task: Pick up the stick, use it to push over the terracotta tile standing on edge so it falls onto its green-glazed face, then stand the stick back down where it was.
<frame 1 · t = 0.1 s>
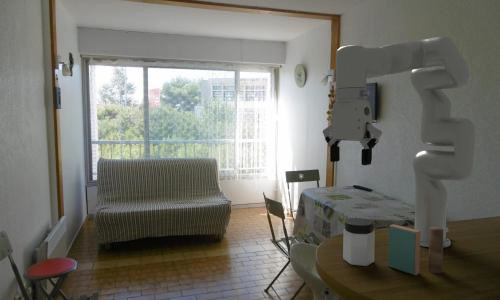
hand: (349, 163, 93), 31 cm above the table, tool pointing down, fingers open, 9 cm apart
stick: (435, 270, 100), on the table
tile: (403, 269, 101), on the table
jar: (358, 261, 108), on the table
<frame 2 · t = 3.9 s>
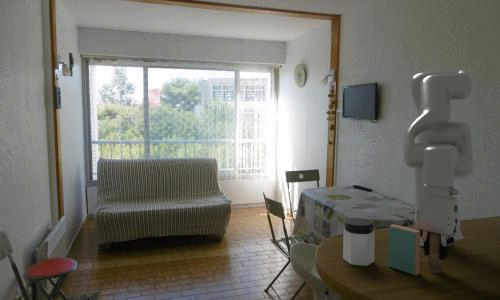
hand: (435, 255, 100), 4 cm above the table, tool pointing down, fingers closed on stick, 3 cm apart
stick: (435, 270, 100), on the table, touching gripper
everything else where it was.
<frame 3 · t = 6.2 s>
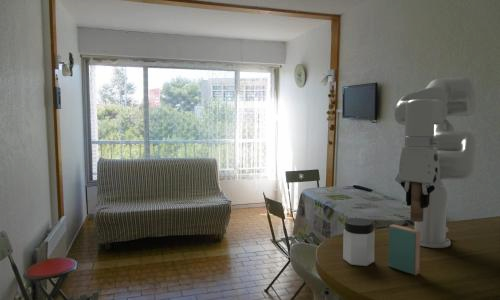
hand: (417, 205, 104), 17 cm above the table, tool pointing down, fingers closed on stick, 3 cm apart
stick: (416, 220, 104), point 13 cm above the table, touching gripper
everything else where it was.
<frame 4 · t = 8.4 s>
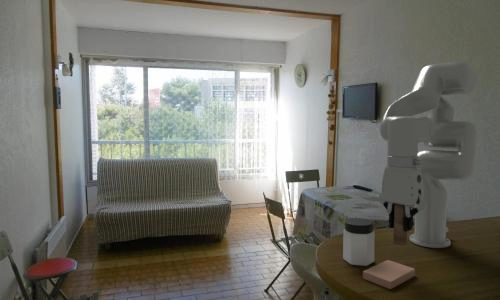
hand: (400, 228, 99), 12 cm above the table, tool pointing down, fingers closed on stick, 3 cm apart
stick: (400, 243, 99), point 8 cm above the table, touching gripper
tile: (400, 267, 100), point 1 cm above the table, tilted 90°
everything else where it was.
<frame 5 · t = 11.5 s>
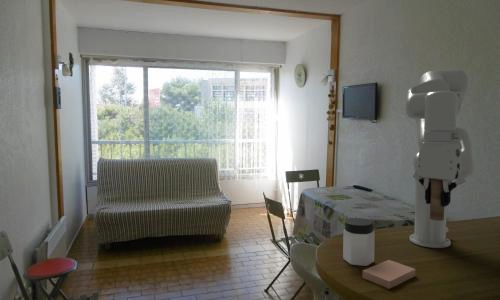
hand: (437, 203, 98), 19 cm above the table, tool pointing down, fingers closed on stick, 3 cm apart
stick: (436, 219, 99), point 15 cm above the table, touching gripper
everything else where it was.
when the fingers open (5 cm above the table, at t = 14.1 s): stick stays where it is, on the table.
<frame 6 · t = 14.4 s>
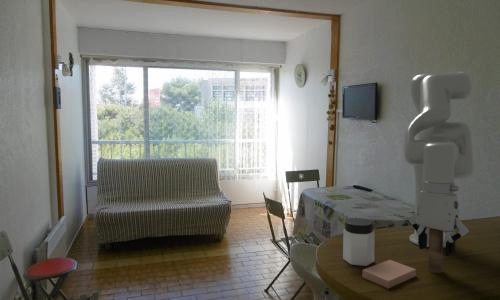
hand: (435, 251, 100), 6 cm above the table, tool pointing down, fingers open, 6 cm apart
stick: (435, 270, 100), on the table
everything else where it was.
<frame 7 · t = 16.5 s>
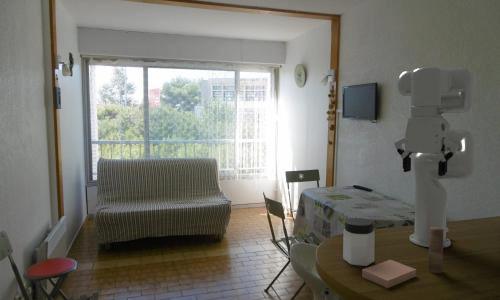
hand: (423, 173, 102), 27 cm above the table, tool pointing down, fingers open, 9 cm apart
nothing on the table moved.
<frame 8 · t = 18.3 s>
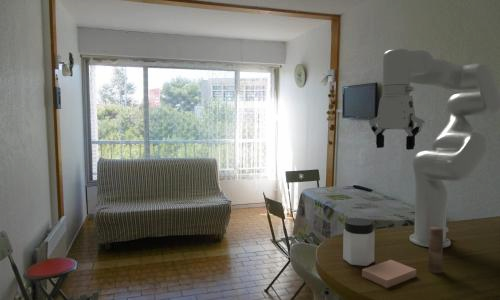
hand: (394, 148, 110), 33 cm above the table, tool pointing down, fingers open, 9 cm apart
nothing on the table moved.
at the end: tile tilted 90°; tile inside the target area (3.6 cm from its centre), point 1.0 cm above the table; stick inside the target area (0.0 cm from its centre), on the table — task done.
